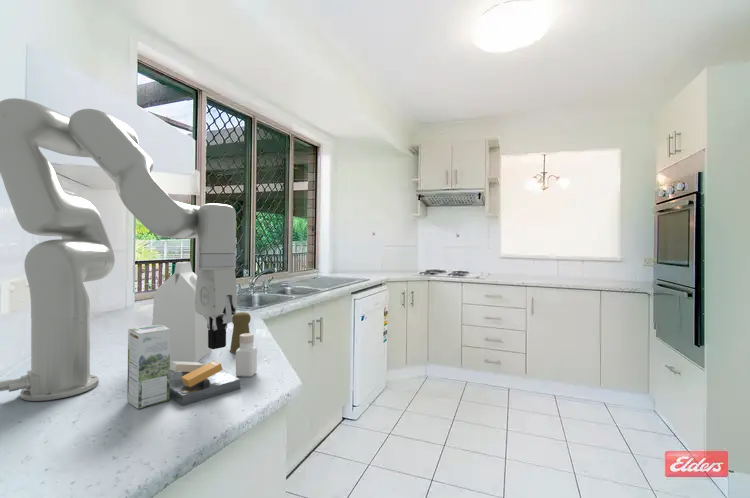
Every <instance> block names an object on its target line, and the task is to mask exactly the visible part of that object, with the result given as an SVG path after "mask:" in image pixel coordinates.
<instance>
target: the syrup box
mask: <svg viewBox="0 0 750 498" xmlns="http://www.w3.org/2000/svg"><path fill="white" fill-rule="evenodd" d="M127 334H128V335H127V384H126V385H127V386H126V387H127V389H126V391H127V392H126V393H127V394H126V395H127V396H126V398H127V400H126V401H127V402H128V403H129V404H130V405H131V406H133V407H135V408H136V409H137V410H140V409H143V408H144V409H145V408H147V407H151V406H154V405H157V404H161V403H164V402H168V401H170V397H169V392H170V375H171V369H170V340H171V330H170V329H169V328H167V327H165V326H163V325H154V326H152V325H149V326H140V327H134V328H129V329H128V330H127Z"/></svg>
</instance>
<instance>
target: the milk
mask: <svg viewBox="0 0 750 498" xmlns="http://www.w3.org/2000/svg"><path fill="white" fill-rule="evenodd" d="M191 263H192V262H191V261H182V262H181V261H180V262H175V266H174V273H173V274H172V275H171V276H170V277H168V278H166V280H165V281H164V282H163V283H162V284H161V285H160V286H158V287H157V288H156V290H155V291H154V296H153V305H152V306H153V307H152V308H153V309H152V324H151V326H154V325H163V326H165V327H167V328H169V329H170V330H171V340H170V362H171V361H181V362H200V360H201V359H203V358H204V357H206V356H207V355H208V354H210V353H211V352H212V351H213V349H210V348H208V330H209V329H208V328H207V320H206V318H204V317H203V315H201V314H198V313H197V312H196V311H195V297H196V282H197V275H198V274H196V273H195V272H193V268H192V264H191Z"/></svg>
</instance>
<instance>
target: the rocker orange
mask: <svg viewBox="0 0 750 498" xmlns="http://www.w3.org/2000/svg"><path fill="white" fill-rule="evenodd" d="M205 364H206V365H204V366H202V367H200V368H198V369H196V370H194V371H192V372H190V373H188V374H186V375H184V376H182V377H181V378H182V381H183V384H185V385H187V386H189V387H192V386H193V385H195V384H197V383H199V382H201V381H203V380H205V379H207V378H208V377H210V376H212V375H214V374H216V373H218V372H220V371H223V367H222V364H221V362H219V361H215V360H212V361H210V362H208V363H205Z"/></svg>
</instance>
